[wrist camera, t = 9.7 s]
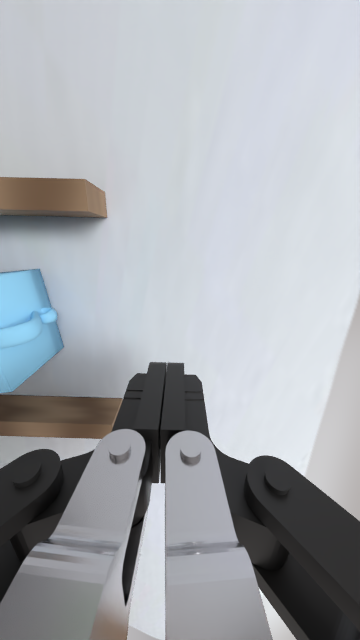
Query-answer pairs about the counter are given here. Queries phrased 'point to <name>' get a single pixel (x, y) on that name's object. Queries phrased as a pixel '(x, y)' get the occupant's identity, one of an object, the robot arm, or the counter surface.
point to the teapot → (25, 327)
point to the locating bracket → (51, 411)
